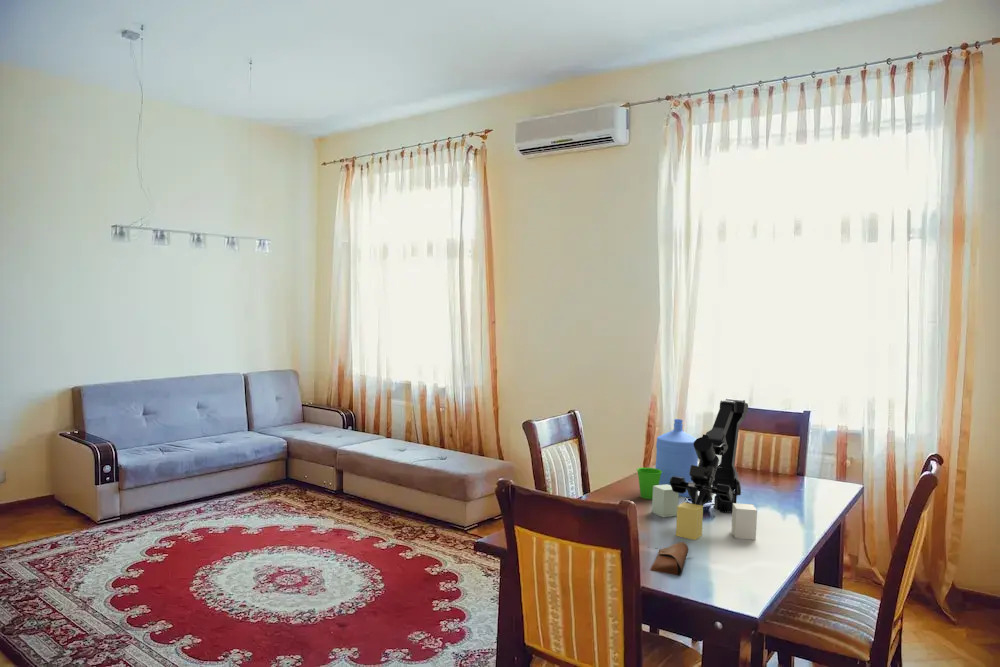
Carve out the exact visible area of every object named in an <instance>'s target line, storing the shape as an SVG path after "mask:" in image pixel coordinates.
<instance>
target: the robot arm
mask: <svg viewBox="0 0 1000 667" xmlns="http://www.w3.org/2000/svg"><path fill="white" fill-rule="evenodd" d="M748 411H749V403H746V400H745V399H738V398H729V397H728V398H726V399H725V400H724V399H723V400H720V403H719V409H718V413H717V415H716V417H715V420H714V423H713V425H712V428H711V429H710V430H708V431H706V433H705V434H702V436H701V437H698V438H696V440H695V441H694V448H695V451H696V454H697V457H698V466H694V465H691V468H690V473H689V475H690V476H691V481H693V482H688V483H687V482H685V479H684V478H683V477H677V476H673V477H671V479H670V485H671V487H672V490H673V491H674V492H677V493H682V494H683V493H685V492H686V489H687V491H688V494H689V496H690V497H689V498H691V504H696V505H702V506H703V507H704V505H706V504H707V503H708V502H712V501H714V503H715V504H714V503H713V508H714V509H715V510H717V511H718V512H720V513H732V509H733V503H737V497H738V496H741V495H742V486H741V483H740V480H739V473H738V471H737V469H736V467H735V463H736V462H735V461H736V454H737V446H738V441H739V440H738V438H739V430H740V425H741V424H742V422H744V421H745V419H746V416H747V414H748ZM718 456H721V459H719V457H718ZM719 462H720V463H719ZM713 496H714V497H713ZM713 498H714V500H713Z"/></svg>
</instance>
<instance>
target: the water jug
mask: <svg viewBox="0 0 1000 667" xmlns="http://www.w3.org/2000/svg"><path fill="white" fill-rule="evenodd" d="M673 422H674V423H673V429H672V430H670V431H668V432H666V433H663V434H660V435H658V436H657V437H656V444H655V448H656V451H655V452H656V454H655V455H656V457H655V466H654V468H655V469H659V470H661V471H662V473H661V476H660V481H659V485H666V484H668V485H670V479H671V477H673V476H677V477H683V478H684V479H685V482H687V483H688V482H693V481H691V476H690V475H689V473H690V468H691V465H694V466H698V464H699V459H698V457H697V454H696V451H695V448H694V441H695V440H696V439H697V438H696V437H694V436H693V435H691V434H690V433H687V432H685V431H684V430H683V426H684V425H683V422H684V420H683V419H679V418H677V419H675V418H674V421H673ZM679 496H681V497H683V498H685V497H689V498H691V497H690V496H689V494H688V491H687V489H686V492H685V493H683V494H682V493H679Z"/></svg>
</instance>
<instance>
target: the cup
mask: <svg viewBox="0 0 1000 667" xmlns="http://www.w3.org/2000/svg"><path fill="white" fill-rule="evenodd" d="M636 471H637V477H638V485H639V493H640V494H639V495H640V498H642V499H644V500H653V486H655V485H659V481H660V476H661V473H662V471H661V470H659V469H655V467H639V468H637V469H636Z"/></svg>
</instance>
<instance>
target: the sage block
mask: <svg viewBox="0 0 1000 667" xmlns="http://www.w3.org/2000/svg"><path fill="white" fill-rule="evenodd" d="M679 496H680V495H679V493H677V492H674V491H673V490H672V487H671V485H668V484H666V485H655V486H653V499H651V500H652V502H651V503H652V506H651V513H653V514H654V515H657V516H660V517H661V518H666V517H667V518H668V517H677V506H679Z"/></svg>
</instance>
